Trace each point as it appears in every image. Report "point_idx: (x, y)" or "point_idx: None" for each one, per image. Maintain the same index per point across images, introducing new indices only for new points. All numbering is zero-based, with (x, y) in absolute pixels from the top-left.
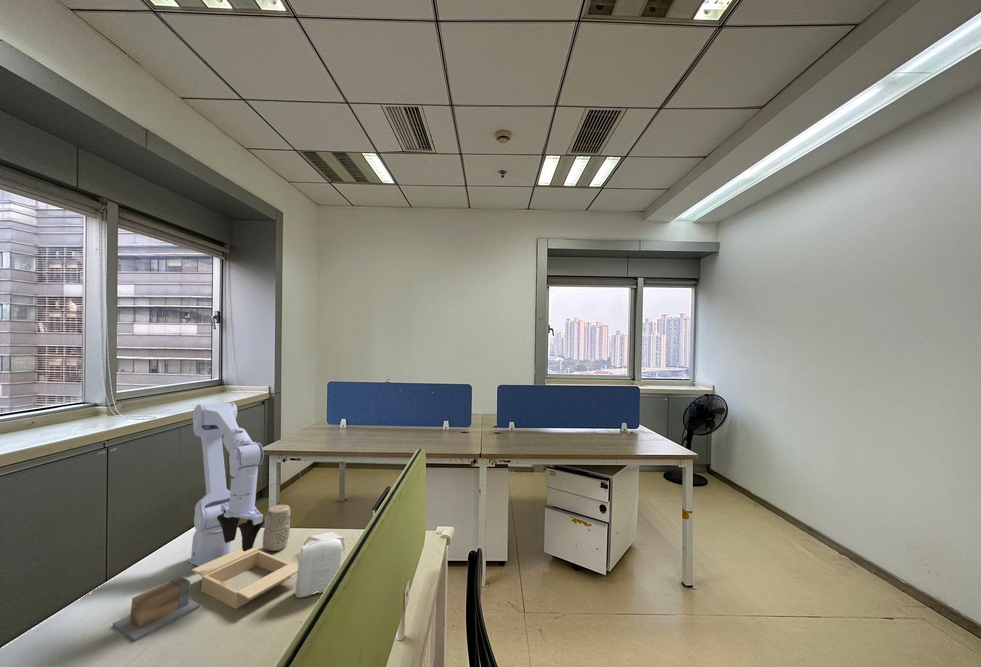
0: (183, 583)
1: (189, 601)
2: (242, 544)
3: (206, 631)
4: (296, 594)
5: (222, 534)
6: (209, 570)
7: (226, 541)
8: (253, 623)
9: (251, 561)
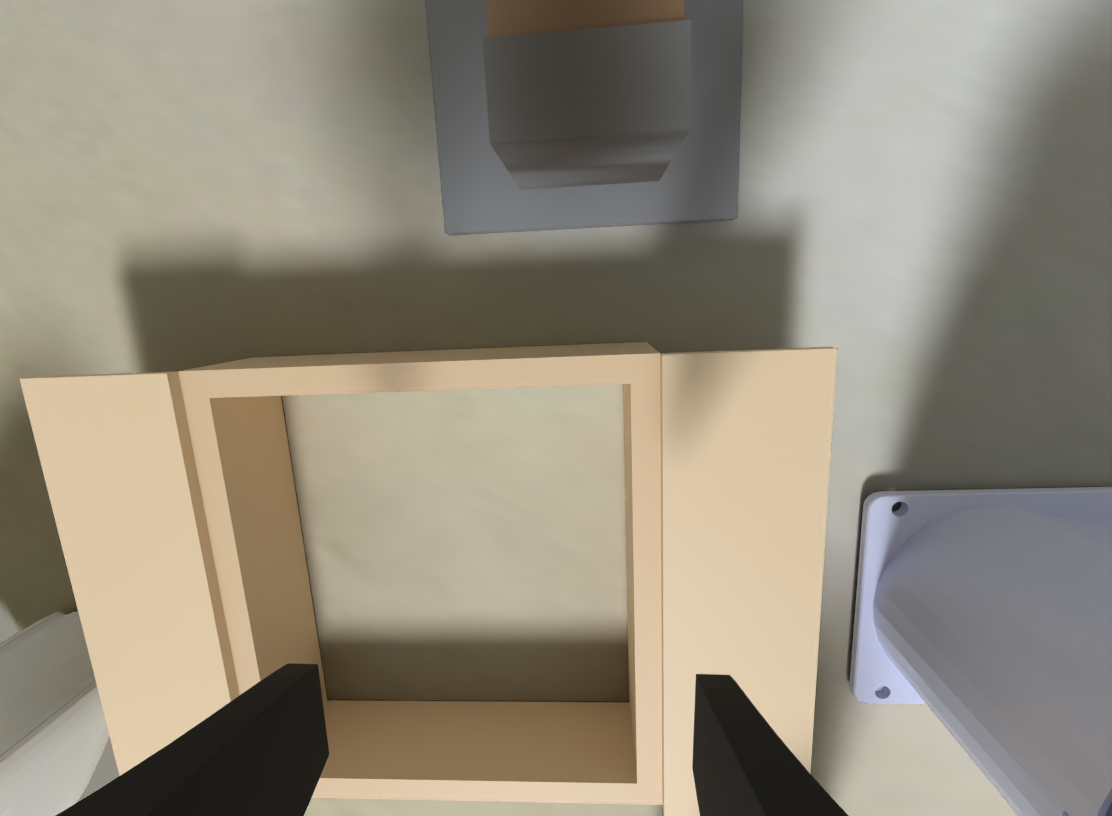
0: (505, 80)
1: (547, 211)
2: (244, 718)
3: (167, 137)
4: (79, 618)
5: (1066, 793)
6: (676, 422)
7: (702, 690)
8: (39, 339)
9: (631, 696)
